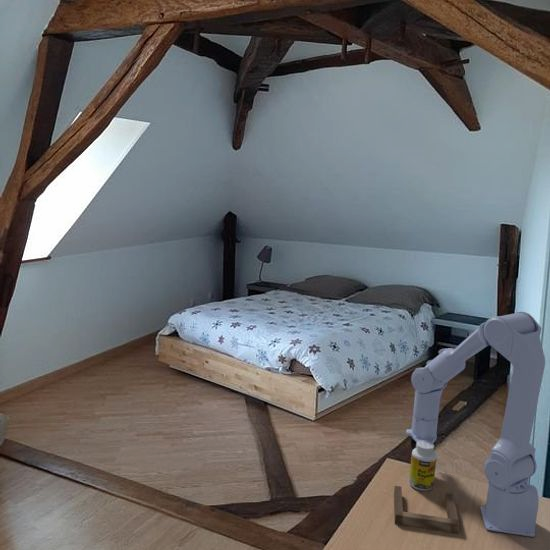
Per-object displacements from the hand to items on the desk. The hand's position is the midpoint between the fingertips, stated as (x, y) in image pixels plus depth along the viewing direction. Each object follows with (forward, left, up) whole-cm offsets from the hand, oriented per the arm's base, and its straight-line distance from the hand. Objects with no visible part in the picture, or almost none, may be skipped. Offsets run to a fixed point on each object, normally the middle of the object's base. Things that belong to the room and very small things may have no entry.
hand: (419, 468), depth 137 cm
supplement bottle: (0, +6, -1) cm, 6 cm away
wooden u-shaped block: (0, +16, -1) cm, 16 cm away
